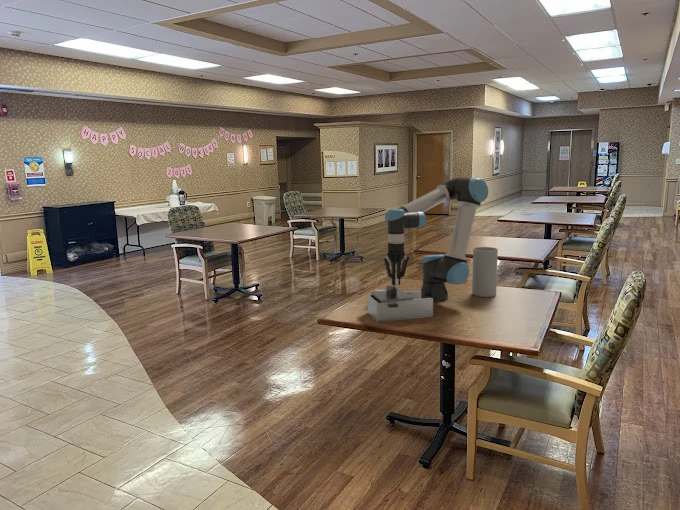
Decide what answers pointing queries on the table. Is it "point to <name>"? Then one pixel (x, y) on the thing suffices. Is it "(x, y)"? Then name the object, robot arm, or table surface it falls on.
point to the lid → (391, 295)
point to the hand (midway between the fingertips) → (396, 291)
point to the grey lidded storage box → (400, 308)
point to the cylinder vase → (484, 271)
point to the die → (377, 290)
